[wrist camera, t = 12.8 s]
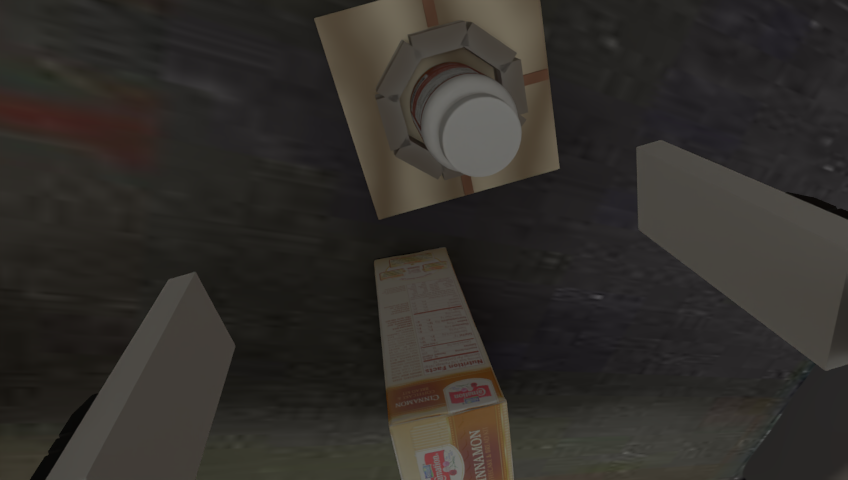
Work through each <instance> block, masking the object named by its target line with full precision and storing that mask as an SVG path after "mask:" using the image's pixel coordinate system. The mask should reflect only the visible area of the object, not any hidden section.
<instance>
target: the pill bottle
mask: <svg viewBox="0 0 848 480" xmlns="http://www.w3.org/2000/svg"><path fill="white" fill-rule="evenodd" d="M410 112H411V116H412V119H413V122H414V124H415V126H416V128H417V130H418V132H419V134H420V136H421V137H422V140H423V141H424V144H425V146H426V147H427V149H428V151H429V152H430V153H431V155H432V156H433V157H434V158H435V159H436V160H437V161H438V162H439V163H440V164H442V165H443V166H445V167H446V168H448V169H451V170H453V171H457V172H461V173H463V174H465V175H468V176H472V177H485V176H490V175H493V174H495V173H497V172H499V171H501V170H502V169H504V168H505V167H506V166H507V165H508V164H509V163H510V162H511V161H512V160H513V158H514V157H515V155H516V153H517V151H518V149H519V146H520V142H521V135H522V130H521V125H520V121H519V118H518V114H517V109H516V105H515V103H514V101H513V99H512V97H511V95H510V94H509V93H508V91H507V90H506V89H505V88H504V87H503V86H502V85H501V84H500V83H498V82H497V81H495V80H494V79H492V78H490V77H488V76H486V75H485V74H483V73H481V72H479V71H477V70H475V69H473V68H471V67H470V66H467V65H465V64H462V63H458V62H445V63H440V64H438V65H435V66H433V67H431V68H430V69H428V70H427V71H426V72H424V73H423V74H422V75H421V76H420V78H419V79H418V80H417V82H416V84H415V86H414V88H413V90H412V93H411V98H410Z"/></svg>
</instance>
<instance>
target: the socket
mask: <svg viewBox="0 0 848 480" xmlns="http://www.w3.org/2000/svg"><path fill="white" fill-rule="evenodd" d="M314 20H315V23H316V26H317V29H318V32H319V36H320V39H321V42H322V45H323V48H324V51H325V54H326V57H327V60H328V64H329V67H330V70H331V73H332V76H333V79H334V82H335V85H336V88H337V92H338V95H339V98H340V101H341V104H342V107H343V110H344V113H345V117H346V120H347V123H348V126H349V129H350V132H351V135H352V138H353V141H354V145H355V148H356V151H357V154H358V157H359V160H360V163H361V166H362V170H363V173H364V176H365V179H366V182H367V185H368V188H369V191H370V194H371V198H372V201H373V204H374V207H375V210H376V213H377V216H378V219H379V220H380V219H383V218H387V217H390V216H394V215H398V214H401V213H405V212H408V211H412V210H415V209H419V208H422V207H426V206H429V205H433V204H437V203H440V202H444V201H447V200H451V199H454V198H458V197H461V196H465V195H468V194H472V193H476V192H479V191H483V190H486V189H490V188H493V187H497V186H500V185H504V184H507V183H511V182H515V181H518V180H522V179H525V178H529V177H532V176H536V175H539V174H543V173H546V172H550V171H554V170H557V169H560V167H559V159H558V150H557V141H556V133H555V124H554V115H553V107H552V98H551V90H550V81H549V72H548V64H547V55H546V46H545V38H544V29H543V21H542V12H541V3H540V0H378V1H375V2H371V3H367V4H364V5H360V6H357V7H353V8H349V9H346V10H342V11H339V12H335V13H331V14H328V15H324V16H320V17H317V18H314ZM445 62H458V63H462V64H465V65H467V66H470V67H471V68H473V69H475V70H477V71H479V72H481V73H483V74H485V75H486V76H488V77H490V78H492V79H494V80H495V81H497V82H498V83H500V84H501V85H502V86H503V87H504V88H505V89H506V90H507V91H508V93H509V94H510V95H511V97H512V99H513V101H514V103H515V105H516V109H517V114H518V118H519V121H520V125H521V130H522V135H521V142H520V146H519V149H518V151H517V153H516V155H515V157H514V158H513V160H512V161H511V162H510V163H509V164H508V165H507V166H506V167H505V168H504V169H502V170H501V171H499V172H497V173H495V174H493V175H490V176H485V177H472V176H468V175H465V174H463V173H461V172H457V171H453V170H451V169H448V168H446V167H445V166H443V165H442V164H440V163H439V162H438V161H437V160H436V159H435V158H434V157H433V156H432V155H431V153H430V152H429V151H428V149H427V147H426V146H425V144H424V141H423V140H422V137H421V136H420V134H419V132H418V130H417V128H416V126H415V124H414V122H413V119H412V116H411V112H410V98H411V93H412V90H413V88H414V86H415V84H416V82H417V80H418V79H419V78H420V76H421V75H422V74H423V73H424V72H426V71H427V70H428V69H430V68H431V67H433V66H435V65H438V64H440V63H445Z"/></svg>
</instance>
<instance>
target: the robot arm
mask: <svg viewBox="0 0 848 480" xmlns="http://www.w3.org/2000/svg"><path fill="white" fill-rule="evenodd" d="M636 153H637V192H638V229H639V230H640V231H641V232H643V233H644V234H645V235H647V236H648V237H649V238H651V239H652V240H653V241H655V242H656V243H657V244H658V245H660V246H661V247H662V248H664V249H665V250H666V251H668V252H669V253H670V254H672V255H673V256H674V257H676V258H677V259H678V260H680V261H681V262H682V263H684V264H685V265H686V266H688V267H689V268H690V269H692V270H693V271H694V272H695V273H697V274H698V275H699V276H701V277H702V278H703V279H705V280H706V281H707V282H709V283H710V284H711V285H713V286H714V287H715V288H717V289H718V290H719V291H721V292H722V293H723V294H725V295H726V296H727V297H729V298H730V299H731V300H732V301H734V302H735V303H736V304H738V305H739V306H740V307H742V308H743V309H744V310H746V311H747V312H748V313H750V314H751V315H752V316H754V317H755V318H756V319H758V320H759V321H760V322H762V323H763V324H764V325H765V326H767V327H768V328H769V329H771V330H772V331H773V332H775V333H776V334H777V335H779V336H780V337H781V338H783V339H784V340H785V341H787V342H788V343H789V344H791V345H792V346H793V347H795V348H796V349H797V350H799V351H800V352H801V353H802V354H804V355H805V356H806V357H808V358H809V359H810V360H812V361H813V362H814V363H816V364H817V365H818V366H820V367H821V368H822V369H824V370H825V371H827V370H830V369H833V368H836V367H840V366H843V365H847V364H848V211H846V210H843V209H841V208H840V209H837V208H836V206H834V205H831V204H829V203H826V202H824V201H821V200H819V199H817V198H814V197H809V196H804V195H799V194H794V193H789V192H786V193H784V192H782V191H779V190H777V189H775V188H772V187H770V186H768V185H765V184H763V183H761V182H758V181H756V180H753V179H751V178H749V177H746V176H744V175H742V174H739V173H737V172H735V171H732V170H730V169H728V168H725V167H723V166H721V165H718V164H716V163H714V162H711V161H709V160H707V159H704V158H702V157H700V156H697V155H695V154H693V153H690V152H688V151H686V150H683V149H681V148H678V147H676V146H674V145H671V144H669V143H667V142H664V141H662V140H660V141H656V142H653V143H649V144H646V145H642V146H639V147H636ZM234 349H235V344H234V342H233V340H232V338H231V337H230V335H229V333H228V331H227V329H226V327H225V325H224V324H223V322H222V320H221V318H220V316H219V314H218V313H217V311H216V309H215V307H214V305H213V303H212V301H211V300H210V298H209V296H208V294H207V292H206V290H205V289H204V287H203V285H202V283H201V281H200V279H199V277H198V276H197V274H196V272H193V273H189V274H186V275H182V276H179V277H175V278H172V279H169V280H168V281H167V283H166V285H165V286H164V288H163V290H162V291H161V293H160V294H159V296H158V298H157V299H156V301H155V303H154V304H153V306H152V307H151V309H150V311H149V312H148V314H147V316H146V317H145V319H144V320H143V322H142V324H141V325H140V327H139V329H138V330H137V332H136V333H135V335H134V337H133V338H132V340H131V342H130V343H129V345H128V347H127V348H126V350H125V351H124V353H123V355H122V356H121V358H120V360H119V361H118V363H117V364H116V366H115V368H114V369H113V371H112V373H111V374H110V376H109V377H108V379H107V381H106V382H105V384H104V386H103V387H102V389H101V390H100V392H99V393H97V394H94V395H92V396H91V397H90V398H89V399H88V400H87V401H86V402H85V403H84V404H83V405H82V406H80V407H79V408H78V409H77V410H76V411H75V412H74V413H73V414H72V416H71V417H70V419H69V420H68V422H67V423H66V425H65V426H64V428H63V430H62V431H61V433H60V434H59V436H60V438H58V439H56V440H55V442H54V443H53V445H52V447H51V448H50V450H49V451H48V453H49V455H48V456H45V457H44V459H43V460H42V462H41V464H40V465H39V467H38V468H37V470H36V471H35V473H34V474H33V476H32V477H31V479H30V480H195V478H196V475H197V472H198V468H199V465H200V462H201V458H202V455H203V452H204V448H205V445H206V442H207V438H208V435H209V432H210V429H211V425H212V422H213V419H214V415H215V412H216V409H217V405H218V402H219V399H220V395H221V392H222V389H223V385H224V382H225V379H226V375H227V372H228V369H229V366H230V362H231V359H232V356H233V352H234Z"/></svg>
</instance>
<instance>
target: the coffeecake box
mask: <svg viewBox="0 0 848 480" xmlns="http://www.w3.org/2000/svg"><path fill="white" fill-rule="evenodd" d="M374 268H375V278H376V288H377V299H378V310H379V321H380V332H381V343H382V353H383V364H384V375H385V385H386V396H387V407H388V420H389V429H390V434H391V439H392V443H393V447H394V451H395V455H396V459H397V463H398V468H399V472H400V476H401V480H514V474H513V463H512V452H511V440H510V428H509V419H508V409H507V401H506V399H505V398H504V396H503V393H502V391H501V389H500V386H499V384H498V381H497V379H496V376H495V374H494V371H493V369H492V366H491V364H490V361H489V358H488V356H487V353H486V351H485V348H484V346H483V343H482V340H481V338H480V335H479V333H478V331H477V328H476V326H475V323H474V320H473V318H472V315H471V313H470V310H469V308H468V305H467V303H466V300H465V297H464V295H463V292H462V290H461V287H460V285H459V282H458V279H457V277H456V274H455V272H454V269H453V266H452V264H451V261H450V258H449V256H448V253H447V250H446V248H445V247H442V248H437V249H431V250H426V251H422V252H418V253H413V254H407V255H400V256H393V257H388V258H382V259H377V260H374Z"/></svg>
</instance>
